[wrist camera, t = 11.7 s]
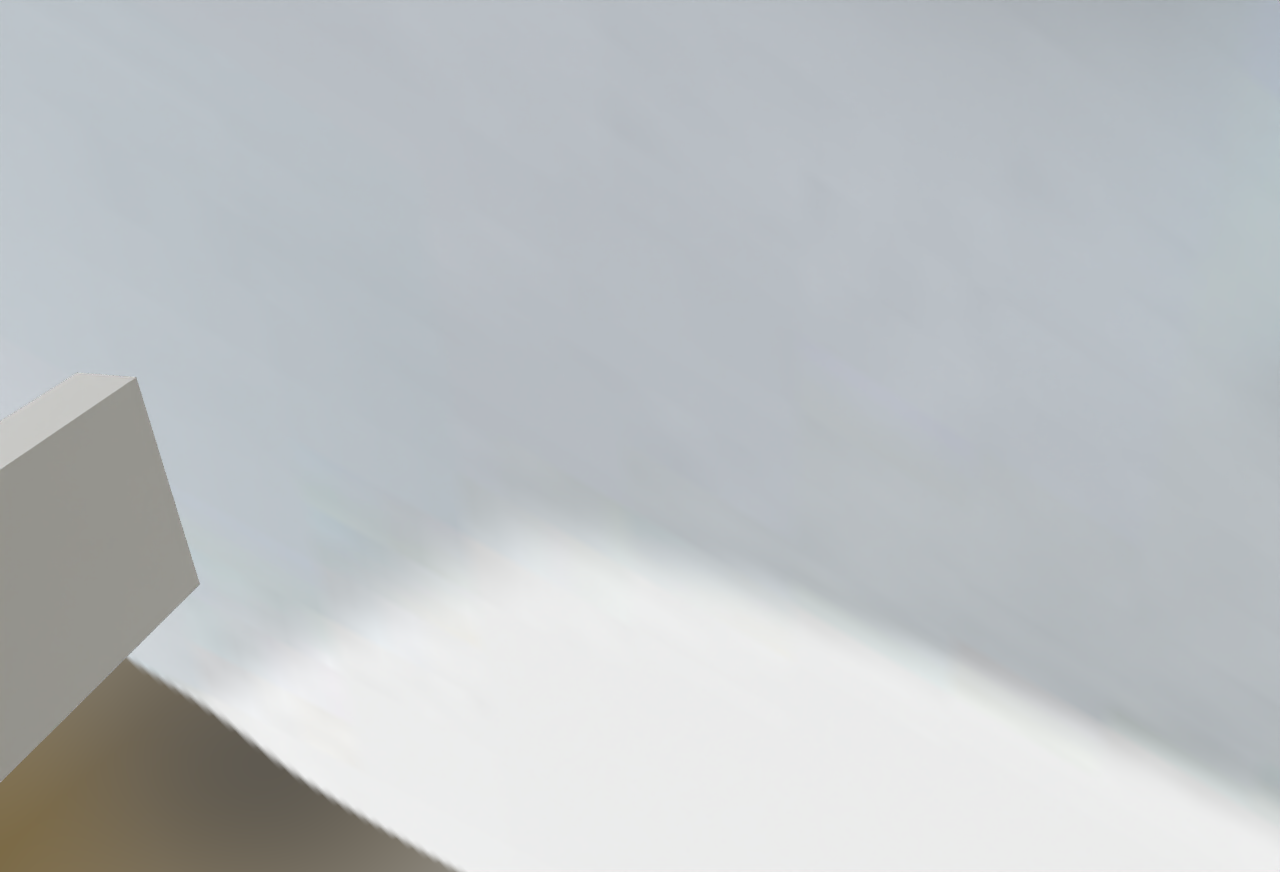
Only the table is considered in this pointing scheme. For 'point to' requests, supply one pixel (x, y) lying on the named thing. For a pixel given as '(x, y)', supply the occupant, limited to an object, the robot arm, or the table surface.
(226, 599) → the table surface
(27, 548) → the robot arm
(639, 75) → the table surface
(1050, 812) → the table surface
